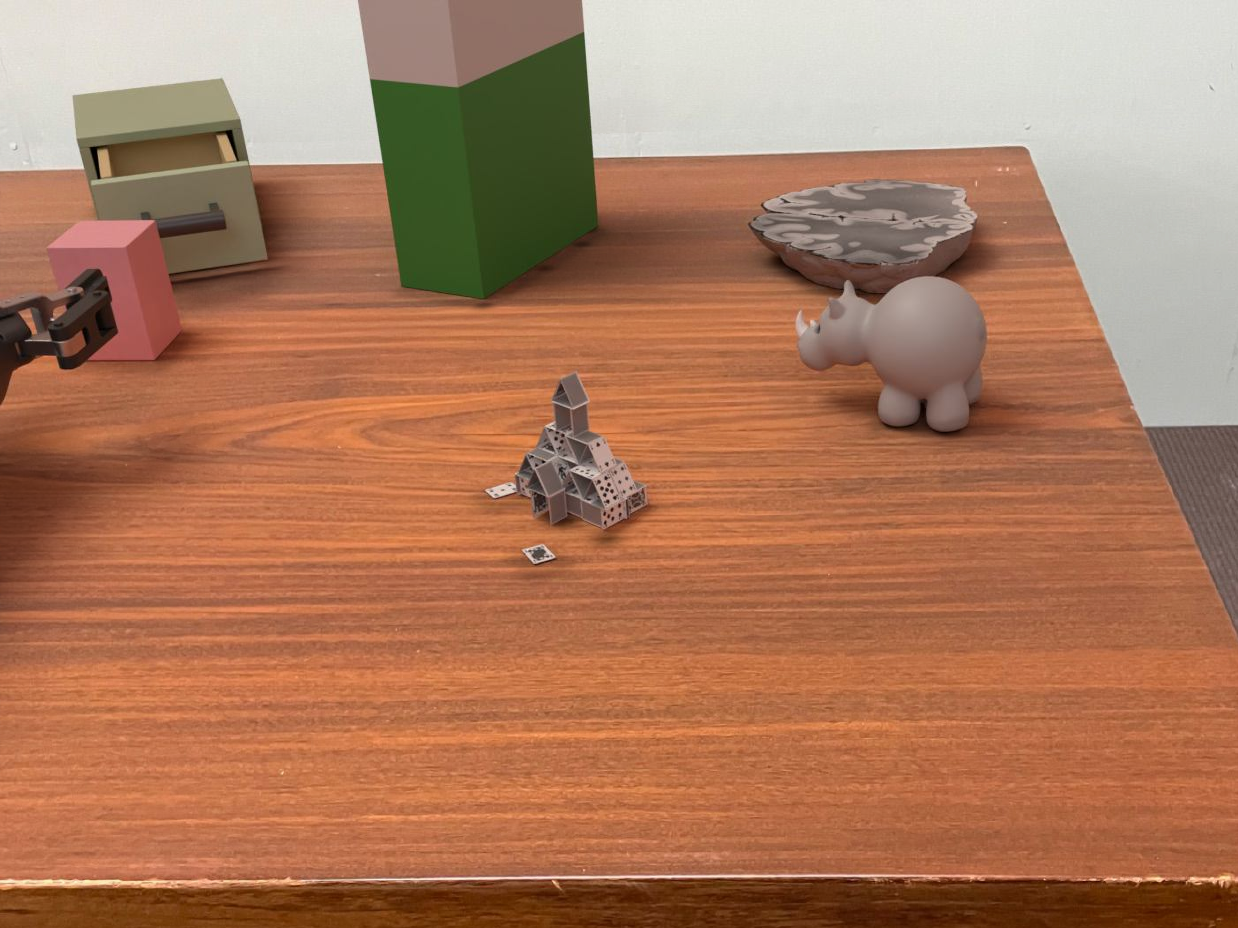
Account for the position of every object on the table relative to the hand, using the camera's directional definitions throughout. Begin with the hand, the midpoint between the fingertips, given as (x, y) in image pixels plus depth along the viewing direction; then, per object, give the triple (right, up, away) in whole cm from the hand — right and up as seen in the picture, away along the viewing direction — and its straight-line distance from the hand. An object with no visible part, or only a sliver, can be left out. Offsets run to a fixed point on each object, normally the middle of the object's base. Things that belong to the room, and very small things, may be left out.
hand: (33, 284), depth 94 cm
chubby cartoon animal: (+53, -8, +1) cm, 54 cm away
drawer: (+1, +10, +27) cm, 29 cm away
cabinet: (-4, +16, +37) cm, 41 cm away
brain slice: (+54, +9, +24) cm, 59 cm away
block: (+1, -1, +14) cm, 14 cm away
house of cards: (+32, -15, -8) cm, 37 cm away
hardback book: (+26, +10, +27) cm, 38 cm away
